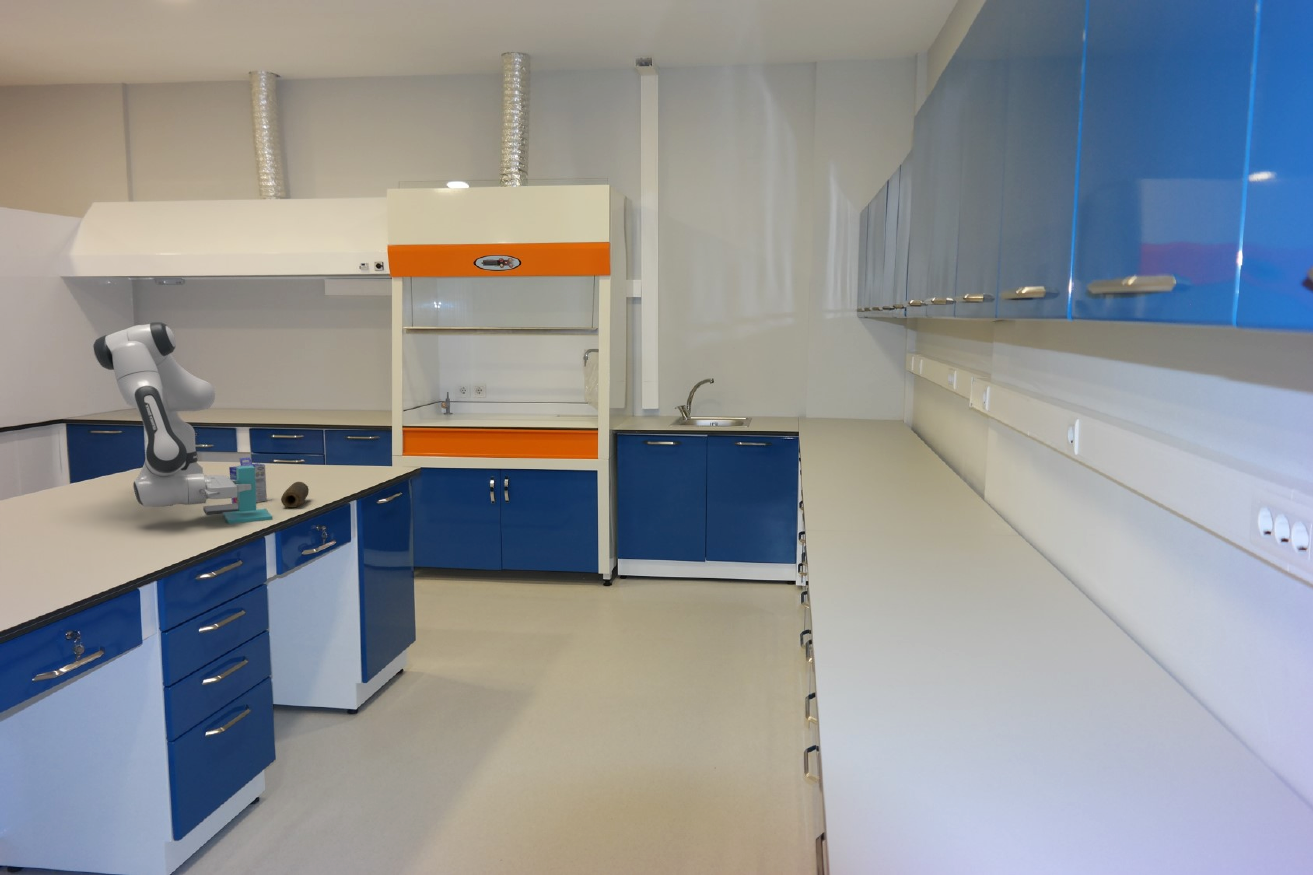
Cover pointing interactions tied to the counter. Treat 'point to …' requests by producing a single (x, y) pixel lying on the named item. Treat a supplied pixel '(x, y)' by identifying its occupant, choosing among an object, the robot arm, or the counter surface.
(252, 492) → the teal column
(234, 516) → the teal pad
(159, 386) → the robot arm
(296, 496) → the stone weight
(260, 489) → the ink cartridge box
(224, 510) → the charcoal pad
